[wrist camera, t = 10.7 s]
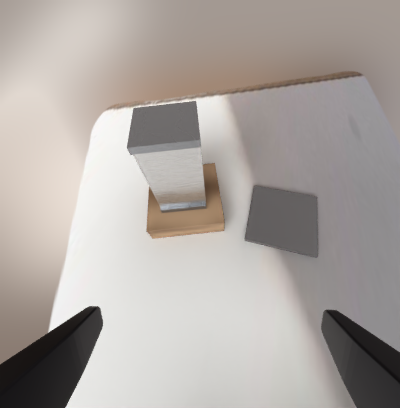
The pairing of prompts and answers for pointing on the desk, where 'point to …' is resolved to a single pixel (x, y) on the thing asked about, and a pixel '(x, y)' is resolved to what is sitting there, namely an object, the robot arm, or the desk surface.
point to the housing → (170, 154)
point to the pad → (283, 221)
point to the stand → (189, 212)
